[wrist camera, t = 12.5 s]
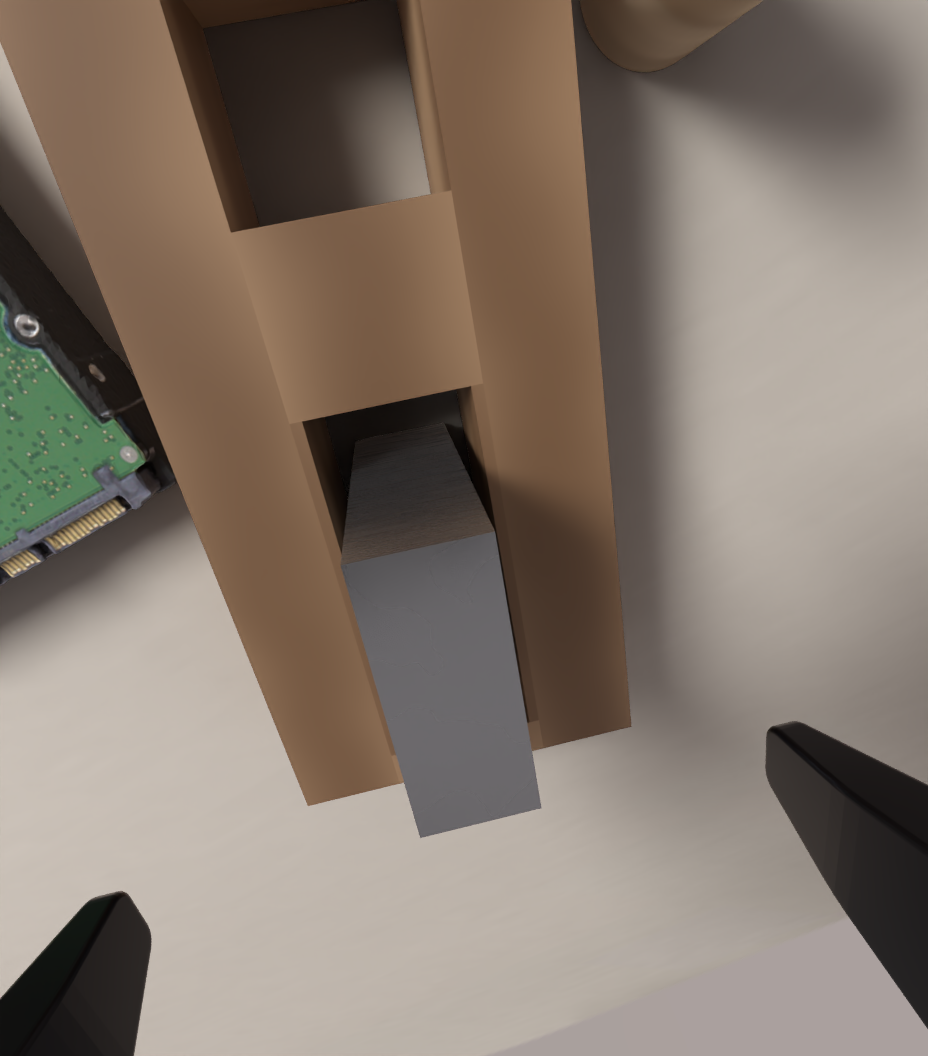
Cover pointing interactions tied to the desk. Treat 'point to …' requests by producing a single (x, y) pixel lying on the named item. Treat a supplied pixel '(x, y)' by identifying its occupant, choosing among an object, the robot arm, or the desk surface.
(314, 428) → the socket board
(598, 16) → the round dowel
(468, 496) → the tall grey rectangular prism
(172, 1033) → the desk surface
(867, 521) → the desk surface
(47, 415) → the disk drive
